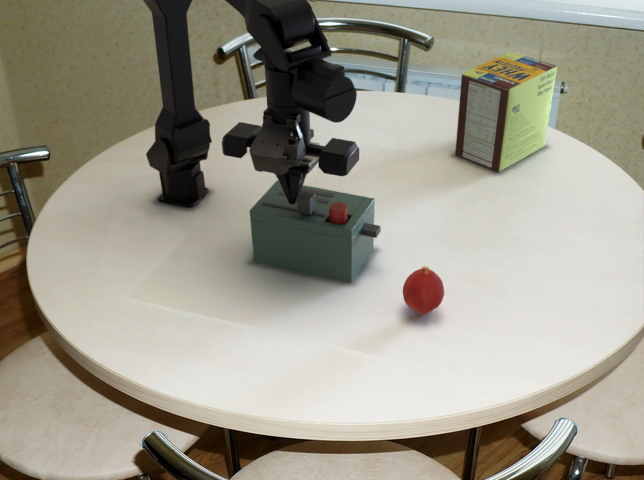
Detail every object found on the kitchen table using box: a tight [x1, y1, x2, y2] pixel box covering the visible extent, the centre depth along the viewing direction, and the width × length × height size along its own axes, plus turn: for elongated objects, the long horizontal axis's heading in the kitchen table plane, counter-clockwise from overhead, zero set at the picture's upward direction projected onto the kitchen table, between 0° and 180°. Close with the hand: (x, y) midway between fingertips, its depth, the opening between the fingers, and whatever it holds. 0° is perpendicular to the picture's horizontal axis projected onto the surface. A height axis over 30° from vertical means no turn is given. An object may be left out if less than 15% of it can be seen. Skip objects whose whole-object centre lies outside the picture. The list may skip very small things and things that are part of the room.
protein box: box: [454, 51, 558, 173], centre depth 156 cm, size 10×15×16 cm
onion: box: [402, 265, 445, 316], centre depth 119 cm, size 6×6×8 cm
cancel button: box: [329, 202, 347, 225], centre depth 123 cm, size 3×3×2 cm
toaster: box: [249, 179, 382, 284], centre depth 129 cm, size 18×10×9 cm, turn 71°
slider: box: [297, 191, 316, 215], centre depth 124 cm, size 2×2×2 cm
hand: (293, 203), depth 125 cm, fingers closed
